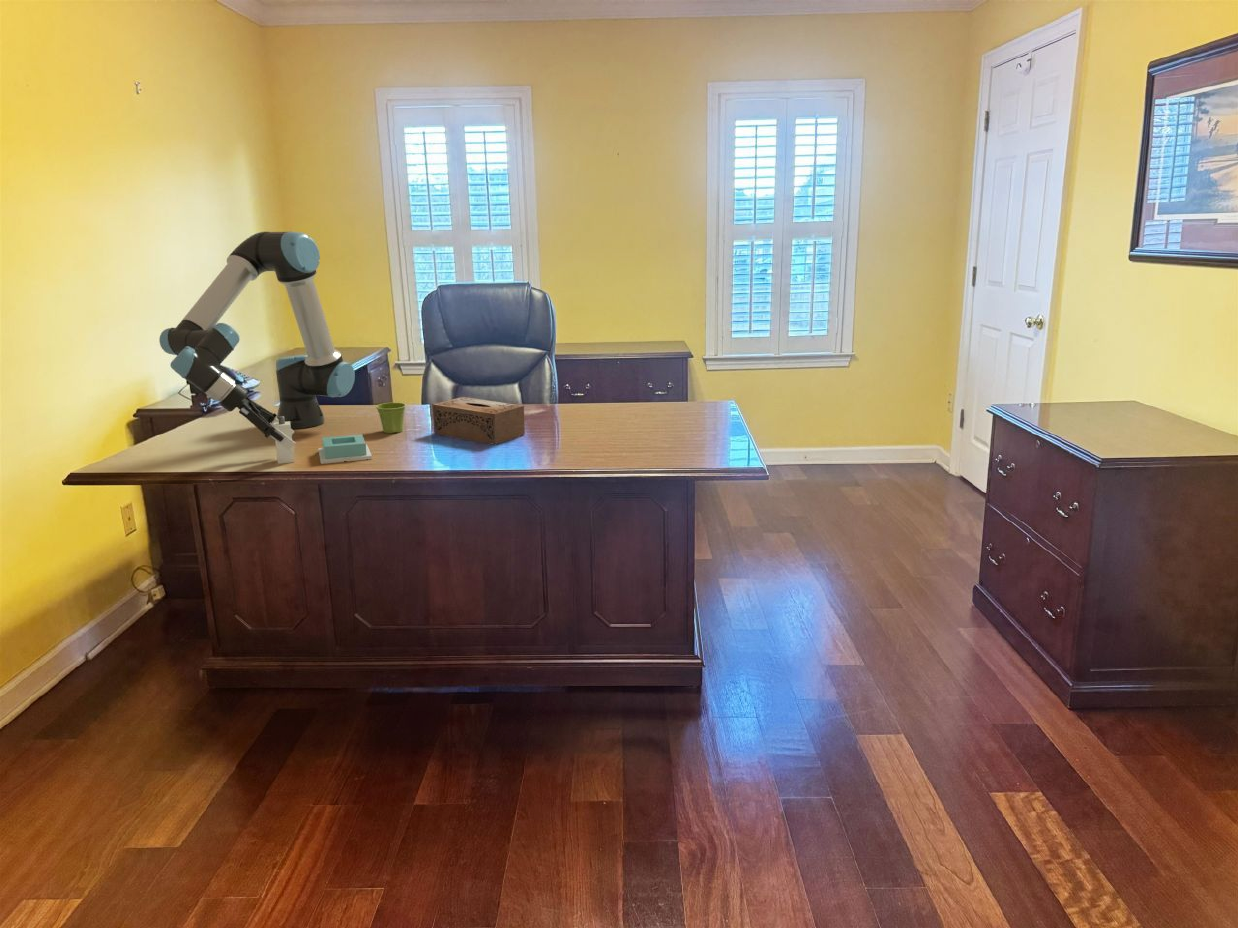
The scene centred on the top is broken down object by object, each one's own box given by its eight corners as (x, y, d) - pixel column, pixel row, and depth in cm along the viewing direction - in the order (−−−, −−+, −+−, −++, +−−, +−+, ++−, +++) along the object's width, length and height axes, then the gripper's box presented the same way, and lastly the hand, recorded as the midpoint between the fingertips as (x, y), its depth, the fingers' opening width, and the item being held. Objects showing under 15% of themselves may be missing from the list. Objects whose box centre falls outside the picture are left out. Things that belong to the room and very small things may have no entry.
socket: (320, 463, 234) (319, 448, 233) (318, 451, 247) (317, 437, 246) (372, 459, 240) (370, 444, 238) (367, 447, 252) (365, 432, 251)
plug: (277, 463, 235) (272, 419, 231) (277, 459, 239) (272, 415, 235) (294, 462, 236) (289, 417, 233) (294, 458, 240) (289, 414, 236)
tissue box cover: (524, 435, 267) (523, 405, 265) (495, 445, 256) (494, 414, 253) (464, 425, 280) (463, 396, 278) (434, 434, 269) (432, 404, 266)
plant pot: (399, 435, 266) (397, 409, 264) (372, 434, 268) (370, 407, 265) (412, 428, 275) (410, 403, 272) (386, 427, 277) (384, 402, 274)
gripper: (220, 394, 238) (282, 440, 247) (215, 412, 216) (283, 461, 225) (238, 375, 238) (299, 421, 248) (234, 390, 216) (302, 441, 226)
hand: (291, 440), depth 237 cm, fingers open, 13 cm apart
